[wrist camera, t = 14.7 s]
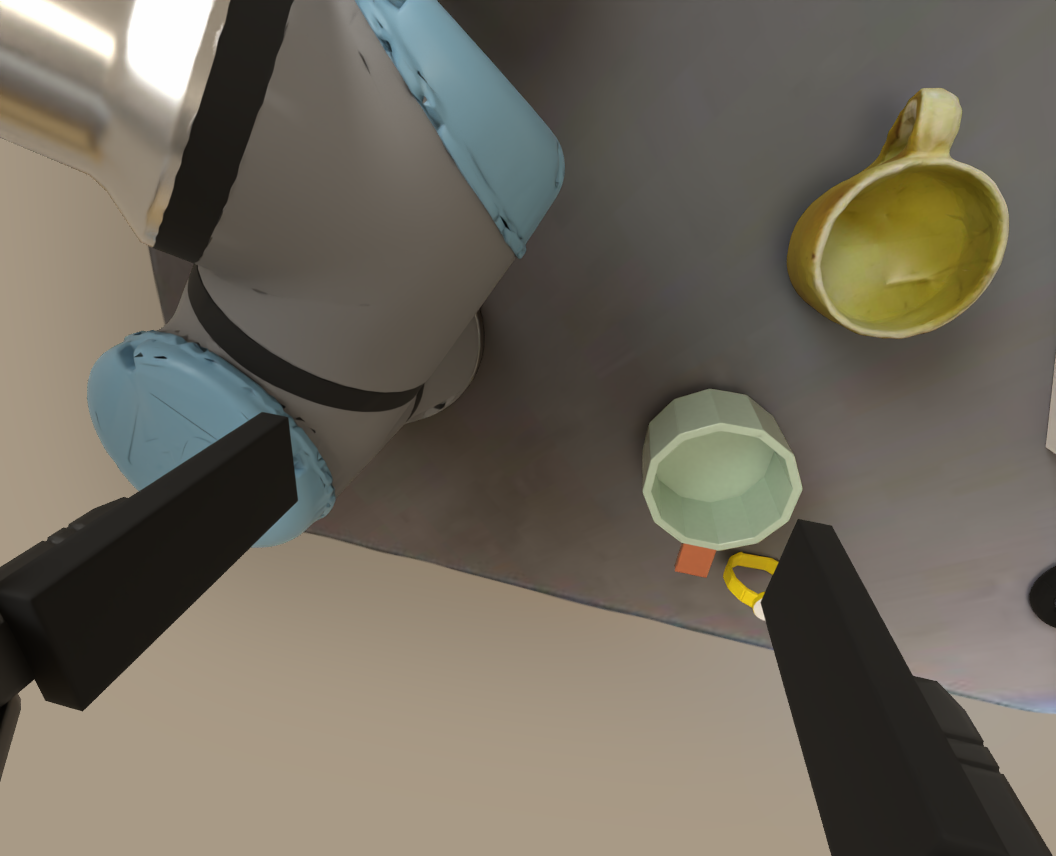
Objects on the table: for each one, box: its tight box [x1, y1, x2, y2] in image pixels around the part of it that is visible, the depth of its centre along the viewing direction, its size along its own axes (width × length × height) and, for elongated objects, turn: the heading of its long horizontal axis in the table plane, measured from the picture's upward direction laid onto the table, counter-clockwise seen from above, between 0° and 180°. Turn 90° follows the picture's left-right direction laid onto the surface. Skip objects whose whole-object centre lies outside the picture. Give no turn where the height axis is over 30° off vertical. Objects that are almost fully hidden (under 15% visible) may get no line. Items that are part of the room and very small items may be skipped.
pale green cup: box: [642, 389, 803, 578], centre depth 39 cm, size 13×10×6 cm
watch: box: [723, 552, 778, 621], centre depth 44 cm, size 6×3×6 cm, turn 82°
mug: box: [787, 88, 1009, 339], centre depth 30 cm, size 12×10×10 cm
